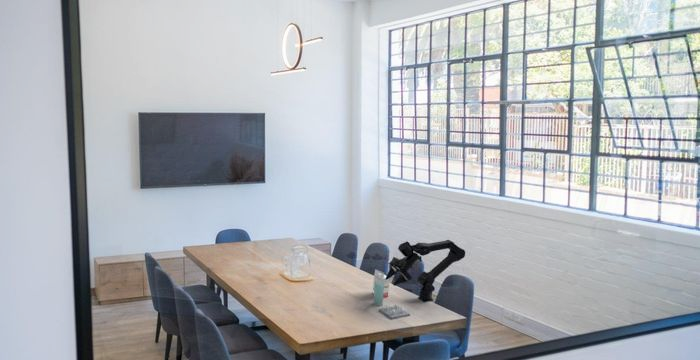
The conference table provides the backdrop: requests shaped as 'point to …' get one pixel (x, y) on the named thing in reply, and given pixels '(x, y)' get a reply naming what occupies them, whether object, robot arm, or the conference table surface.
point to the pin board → (394, 312)
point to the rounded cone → (378, 294)
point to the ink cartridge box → (381, 278)
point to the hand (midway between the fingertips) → (389, 282)
